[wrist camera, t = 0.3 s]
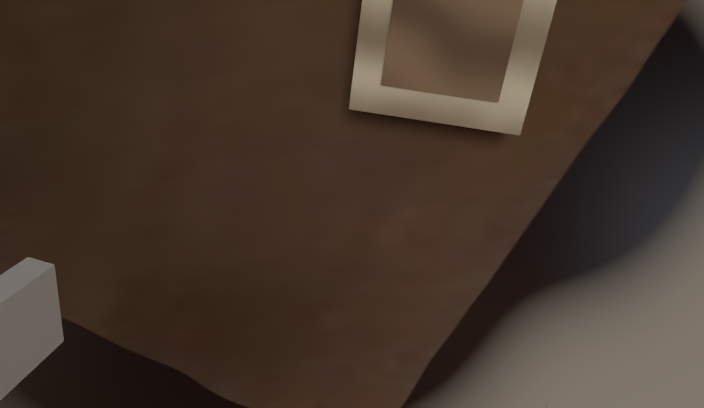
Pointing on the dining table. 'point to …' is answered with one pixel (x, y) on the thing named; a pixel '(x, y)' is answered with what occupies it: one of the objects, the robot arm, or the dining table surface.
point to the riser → (450, 60)
